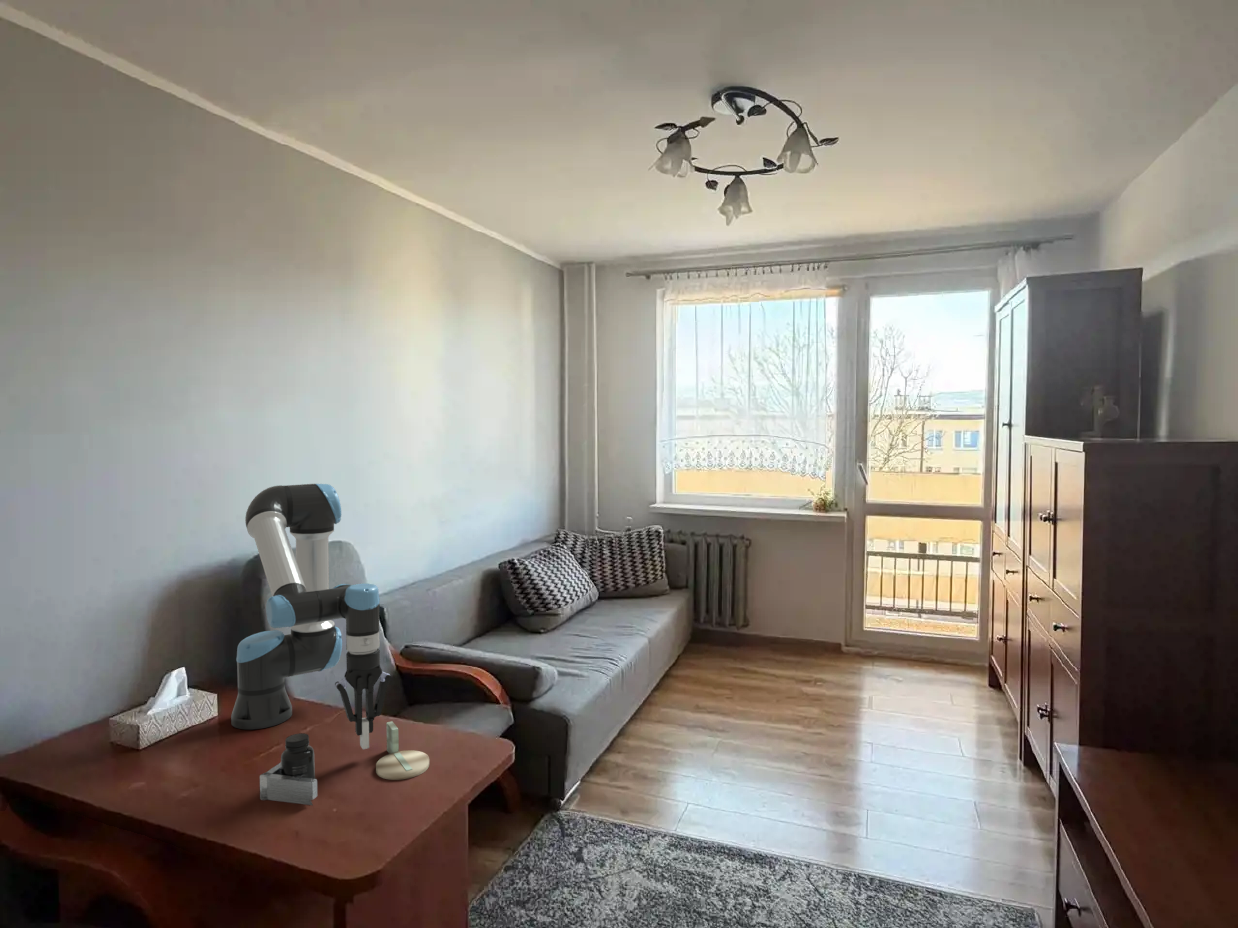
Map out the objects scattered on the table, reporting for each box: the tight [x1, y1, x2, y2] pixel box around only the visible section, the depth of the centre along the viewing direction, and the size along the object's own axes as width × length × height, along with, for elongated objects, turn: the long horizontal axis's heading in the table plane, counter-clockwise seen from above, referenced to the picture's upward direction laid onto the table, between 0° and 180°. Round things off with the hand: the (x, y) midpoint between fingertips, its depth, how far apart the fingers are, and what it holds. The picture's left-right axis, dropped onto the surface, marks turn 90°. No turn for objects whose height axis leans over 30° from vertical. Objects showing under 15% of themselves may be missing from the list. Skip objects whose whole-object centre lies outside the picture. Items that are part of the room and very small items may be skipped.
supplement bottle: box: [280, 732, 316, 779], centre depth 161 cm, size 7×7×12 cm
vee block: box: [259, 761, 318, 806], centre depth 160 cm, size 18×10×5 cm, turn 33°
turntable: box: [375, 720, 430, 781], centre depth 171 cm, size 17×12×7 cm
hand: (364, 746), depth 173 cm, fingers closed
